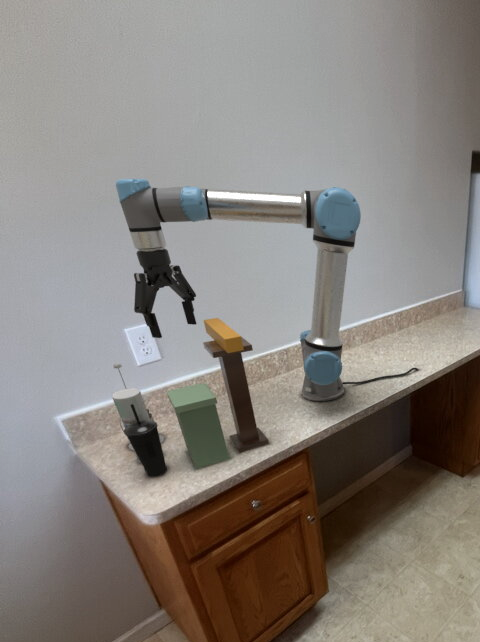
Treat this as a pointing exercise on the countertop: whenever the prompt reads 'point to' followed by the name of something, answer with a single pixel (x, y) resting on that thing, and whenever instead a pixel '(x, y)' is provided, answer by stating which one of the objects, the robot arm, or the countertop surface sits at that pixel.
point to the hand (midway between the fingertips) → (175, 330)
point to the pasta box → (223, 335)
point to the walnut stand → (238, 396)
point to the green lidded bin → (199, 424)
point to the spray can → (124, 409)
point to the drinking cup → (147, 445)
